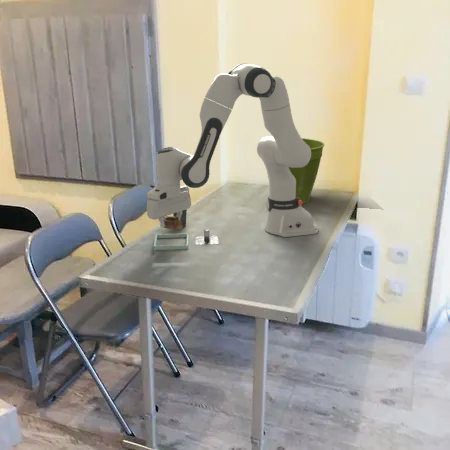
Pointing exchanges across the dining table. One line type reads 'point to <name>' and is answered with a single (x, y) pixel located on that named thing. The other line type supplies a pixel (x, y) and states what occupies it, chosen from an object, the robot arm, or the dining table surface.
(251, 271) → the dining table surface
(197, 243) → the stake
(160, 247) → the tray
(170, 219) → the ring
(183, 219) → the beverage cup
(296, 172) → the plant pot
